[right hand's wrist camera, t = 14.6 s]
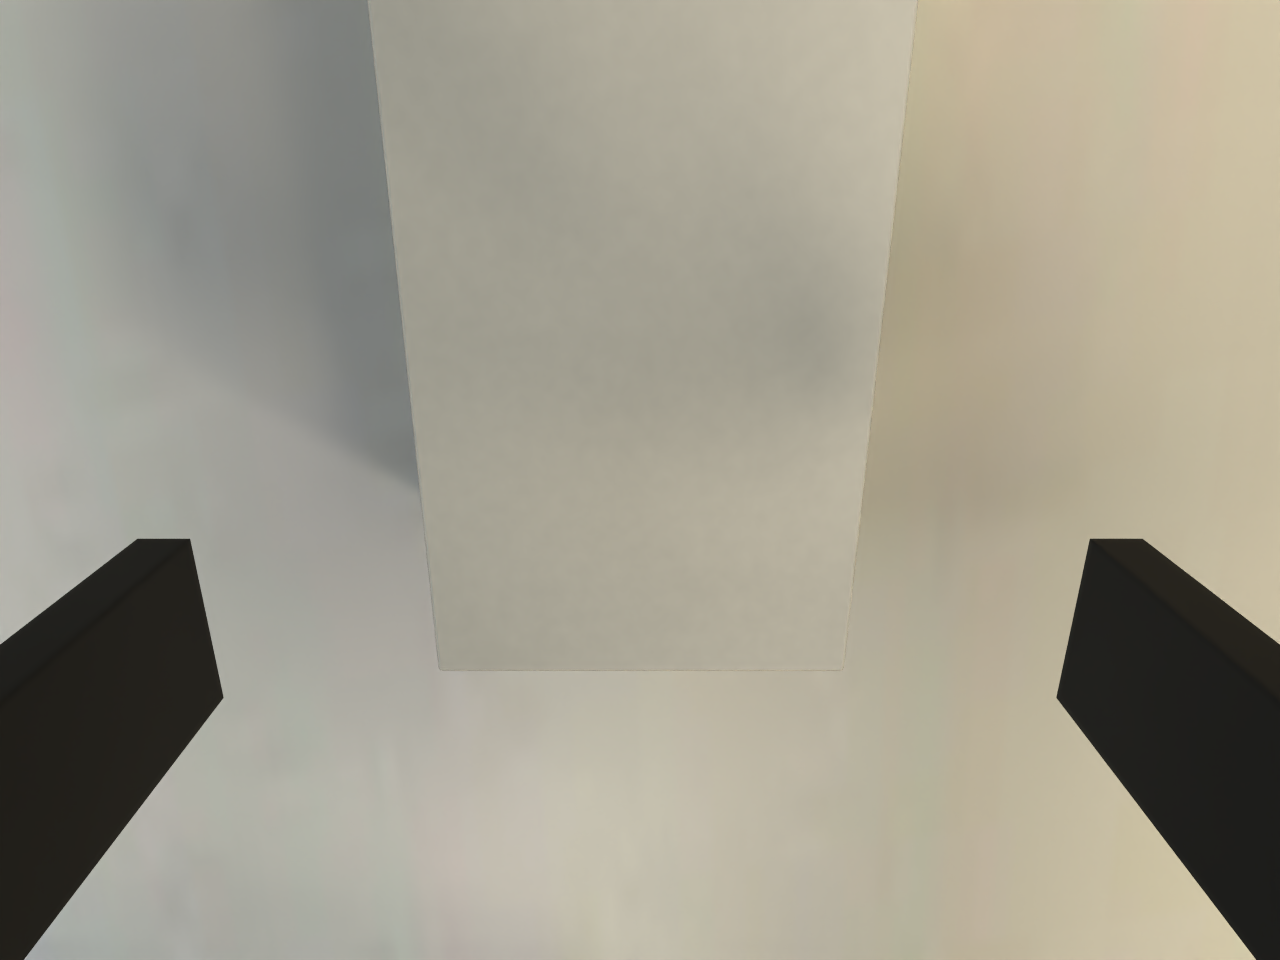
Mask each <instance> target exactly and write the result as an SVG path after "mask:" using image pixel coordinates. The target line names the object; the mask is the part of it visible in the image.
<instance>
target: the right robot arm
mask: <svg viewBox="0 0 1280 960" xmlns="http://www.w3.org/2000/svg"><path fill="white" fill-rule="evenodd" d="M222 699H223V693H222V688H221V683H220V679H219V674H218V669H217V664H216V660H215V655H214V650H213V646H212V641H211V636H210V631H209V627H208V622H207V617H206V612H205V608H204V603H203V598H202V593H201V589H200V584H199V579H198V574H197V570H196V565H195V560H194V555H193V551H192V546H191V541H190V539H137V540H135V541H134V542H133V543H131V544H130V545H129V546H128V547H126V548H125V549H124V550H122V551H121V552H120V553H118V554H117V555H116V556H115V557H113V558H112V559H111V560H109V561H108V562H107V563H106V564H104V565H103V566H102V567H100V568H99V569H98V570H96V571H95V572H94V573H93V574H91V575H90V576H89V577H87V578H86V579H85V580H83V581H82V582H81V583H80V584H78V585H77V586H76V587H74V588H73V589H72V590H70V591H69V592H68V593H67V594H65V595H64V596H63V597H61V598H60V599H59V600H58V601H56V602H55V603H54V604H52V605H51V606H50V607H48V608H47V609H46V610H45V611H43V612H42V613H41V614H39V615H38V616H37V617H35V618H34V619H33V620H32V621H30V622H29V623H28V624H26V625H25V626H24V627H23V628H21V629H20V630H19V631H17V632H16V633H15V634H13V635H12V636H11V637H10V638H8V639H7V640H6V641H4V642H3V643H2V644H0V960H24V959H25V957H26V956H27V955H28V953H29V952H30V951H31V949H32V948H33V947H34V946H35V944H36V943H37V942H38V940H39V939H40V938H41V936H42V935H43V934H44V932H45V931H46V930H47V928H48V927H49V926H50V925H51V923H52V922H53V921H54V919H55V918H56V917H57V915H58V914H59V913H60V911H61V910H62V909H63V908H64V906H65V905H66V904H67V902H68V901H69V900H70V898H71V897H72V896H73V894H74V893H75V892H76V890H77V889H78V888H79V887H80V885H81V884H82V883H83V881H84V880H85V879H86V877H87V876H88V875H89V873H90V872H91V871H92V869H93V868H94V867H95V866H96V864H97V863H98V862H99V860H100V859H101V858H102V856H103V855H104V854H105V852H106V851H107V850H108V848H109V847H110V846H111V845H112V843H113V842H114V841H115V839H116V838H117V837H118V835H119V834H120V833H121V831H122V830H123V829H124V828H125V826H126V825H127V824H128V822H129V821H130V820H131V818H132V817H133V816H134V814H135V813H136V812H137V810H138V809H139V808H140V807H141V805H142V804H143V803H144V801H145V800H146V799H147V797H148V796H149V795H150V793H151V792H152V791H153V789H154V788H155V787H156V786H157V784H158V783H159V782H160V780H161V779H162V778H163V776H164V775H165V774H166V772H167V771H168V770H169V768H170V767H171V766H172V765H173V763H174V762H175V761H176V759H177V758H178V757H179V755H180V754H181V753H182V751H183V750H184V749H185V747H186V746H187V745H188V744H189V742H190V741H191V740H192V738H193V737H194V736H195V734H196V733H197V732H198V730H199V729H200V728H201V727H202V725H203V724H204V723H205V721H206V720H207V719H208V717H209V716H210V715H211V713H212V712H213V711H214V709H215V708H216V707H217V706H218V704H219V703H220V702H221V700H222ZM1057 699H1058V700H1059V702H1060V703H1061V704H1062V706H1063V707H1064V708H1065V709H1066V711H1067V712H1068V713H1069V715H1070V716H1071V717H1072V719H1073V720H1074V721H1075V723H1076V724H1077V725H1078V727H1079V728H1080V729H1081V730H1082V732H1083V733H1084V734H1085V736H1086V737H1087V738H1088V740H1089V741H1090V742H1091V744H1092V745H1093V746H1094V747H1095V749H1096V750H1097V751H1098V753H1099V754H1100V755H1101V757H1102V758H1103V759H1104V761H1105V762H1106V763H1107V765H1108V766H1109V767H1110V768H1111V770H1112V771H1113V772H1114V774H1115V775H1116V776H1117V778H1118V779H1119V780H1120V782H1121V783H1122V784H1123V786H1124V787H1125V788H1126V789H1127V791H1128V792H1129V793H1130V795H1131V796H1132V797H1133V799H1134V800H1135V801H1136V803H1137V804H1138V805H1139V807H1140V808H1141V809H1142V810H1143V812H1144V813H1145V814H1146V816H1147V817H1148V818H1149V820H1150V821H1151V822H1152V824H1153V825H1154V826H1155V828H1156V829H1157V830H1158V831H1159V833H1160V834H1161V835H1162V837H1163V838H1164V839H1165V841H1166V842H1167V843H1168V845H1169V846H1170V847H1171V848H1172V850H1173V851H1174V852H1175V854H1176V855H1177V856H1178V858H1179V859H1180V860H1181V862H1182V863H1183V864H1184V866H1185V867H1186V868H1187V869H1188V871H1189V872H1190V873H1191V875H1192V876H1193V877H1194V879H1195V880H1196V881H1197V883H1198V884H1199V885H1200V887H1201V888H1202V889H1203V890H1204V892H1205V893H1206V894H1207V896H1208V897H1209V898H1210V900H1211V901H1212V902H1213V904H1214V905H1215V906H1216V908H1217V909H1218V910H1219V911H1220V913H1221V914H1222V915H1223V917H1224V918H1225V919H1226V921H1227V922H1228V923H1229V925H1230V926H1231V927H1232V928H1233V930H1234V931H1235V932H1236V934H1237V935H1238V936H1239V938H1240V939H1241V940H1242V942H1243V943H1244V944H1245V946H1246V947H1247V948H1248V949H1249V951H1250V952H1251V953H1252V955H1253V956H1254V957H1255V959H1256V960H1280V644H1278V643H1277V642H1276V641H1274V640H1273V639H1272V638H1270V637H1269V636H1268V635H1267V634H1265V633H1264V632H1263V631H1261V630H1260V629H1259V628H1257V627H1256V626H1255V625H1254V624H1252V623H1251V622H1250V621H1248V620H1247V619H1246V618H1245V617H1243V616H1242V615H1241V614H1239V613H1238V612H1237V611H1235V610H1234V609H1233V608H1232V607H1230V606H1229V605H1228V604H1226V603H1225V602H1224V601H1222V600H1221V599H1220V598H1219V597H1217V596H1216V595H1215V594H1213V593H1212V592H1211V591H1210V590H1208V589H1207V588H1206V587H1204V586H1203V585H1202V584H1200V583H1199V582H1198V581H1197V580H1195V579H1194V578H1193V577H1191V576H1190V575H1189V574H1187V573H1186V572H1185V571H1184V570H1182V569H1181V568H1180V567H1178V566H1177V565H1176V564H1174V563H1173V562H1172V561H1171V560H1169V559H1168V558H1167V557H1165V556H1164V555H1163V554H1162V553H1160V552H1159V551H1158V550H1156V549H1155V548H1154V547H1152V546H1151V545H1150V544H1149V543H1147V542H1146V541H1145V540H1143V539H1090V541H1089V546H1088V551H1087V555H1086V560H1085V565H1084V570H1083V574H1082V579H1081V584H1080V589H1079V593H1078V598H1077V603H1076V608H1075V612H1074V617H1073V622H1072V627H1071V631H1070V636H1069V641H1068V646H1067V650H1066V655H1065V660H1064V664H1063V669H1062V674H1061V679H1060V683H1059V688H1058V693H1057Z"/></svg>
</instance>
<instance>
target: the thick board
mask: <svg viewBox="0 0 1280 960" xmlns="http://www.w3.org/2000/svg"><path fill="white" fill-rule="evenodd" d="M367 1H368V11H369V20H370V29H371V39H372V48H373V57H374V67H375V76H376V85H377V95H378V104H379V114H380V123H381V132H382V142H383V151H384V160H385V170H386V179H387V188H388V198H389V207H390V217H391V226H392V235H393V245H394V254H395V263H396V273H397V282H398V291H399V301H400V310H401V319H402V329H403V338H404V348H405V357H406V366H407V376H408V385H409V394H410V404H411V413H412V422H413V432H414V441H415V451H416V460H417V469H418V479H419V488H420V497H421V507H422V516H423V525H424V535H425V544H426V554H427V563H428V572H429V582H430V591H431V600H432V610H433V619H434V628H435V638H436V647H437V657H438V666H439V669H440V670H442V671H841V670H843V668H844V661H845V652H846V643H847V634H848V625H849V616H850V607H851V598H852V589H853V580H854V571H855V562H856V553H857V544H858V535H859V526H860V517H861V509H862V500H863V491H864V482H865V473H866V464H867V455H868V446H869V437H870V428H871V419H872V410H873V401H874V392H875V383H876V374H877V365H878V357H879V348H880V339H881V330H882V321H883V312H884V303H885V294H886V285H887V276H888V267H889V258H890V249H891V240H892V231H893V222H894V213H895V204H896V196H897V187H898V178H899V169H900V160H901V151H902V142H903V133H904V124H905V115H906V106H907V97H908V88H909V79H910V70H911V61H912V52H913V44H914V35H915V26H916V17H917V8H918V0H367Z"/></svg>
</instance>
